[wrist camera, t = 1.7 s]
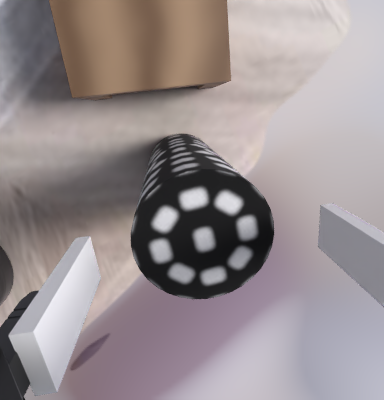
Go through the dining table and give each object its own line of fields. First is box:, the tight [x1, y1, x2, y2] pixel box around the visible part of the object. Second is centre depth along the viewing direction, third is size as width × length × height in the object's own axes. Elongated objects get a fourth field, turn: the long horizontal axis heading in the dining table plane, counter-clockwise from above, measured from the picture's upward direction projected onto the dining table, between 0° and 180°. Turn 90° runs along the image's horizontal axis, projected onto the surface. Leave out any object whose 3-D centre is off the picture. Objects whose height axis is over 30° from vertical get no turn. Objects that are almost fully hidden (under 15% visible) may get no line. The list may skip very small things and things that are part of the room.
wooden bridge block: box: [49, 0, 231, 100], centre depth 25 cm, size 14×14×8 cm
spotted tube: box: [131, 134, 274, 299], centre depth 25 cm, size 8×8×20 cm
